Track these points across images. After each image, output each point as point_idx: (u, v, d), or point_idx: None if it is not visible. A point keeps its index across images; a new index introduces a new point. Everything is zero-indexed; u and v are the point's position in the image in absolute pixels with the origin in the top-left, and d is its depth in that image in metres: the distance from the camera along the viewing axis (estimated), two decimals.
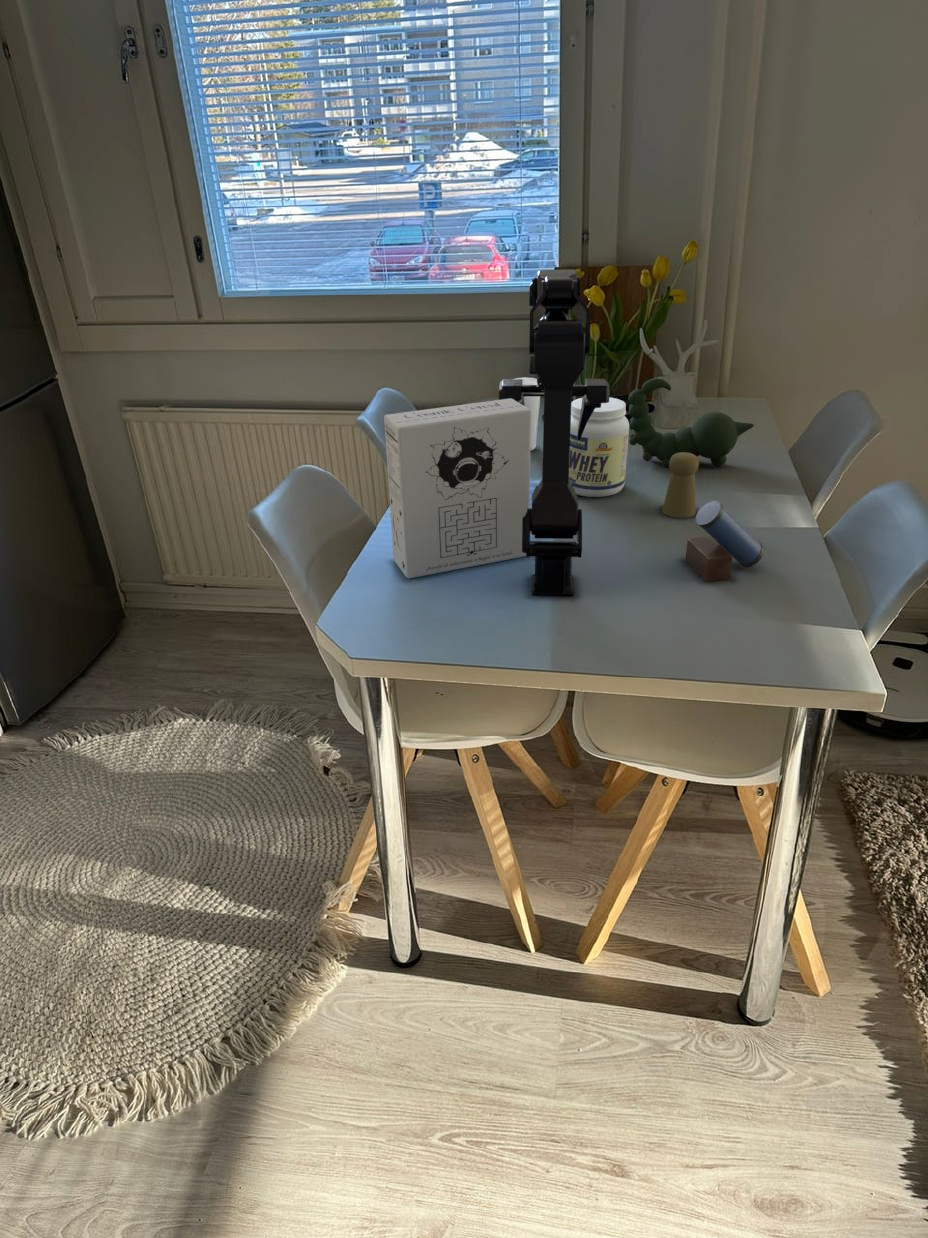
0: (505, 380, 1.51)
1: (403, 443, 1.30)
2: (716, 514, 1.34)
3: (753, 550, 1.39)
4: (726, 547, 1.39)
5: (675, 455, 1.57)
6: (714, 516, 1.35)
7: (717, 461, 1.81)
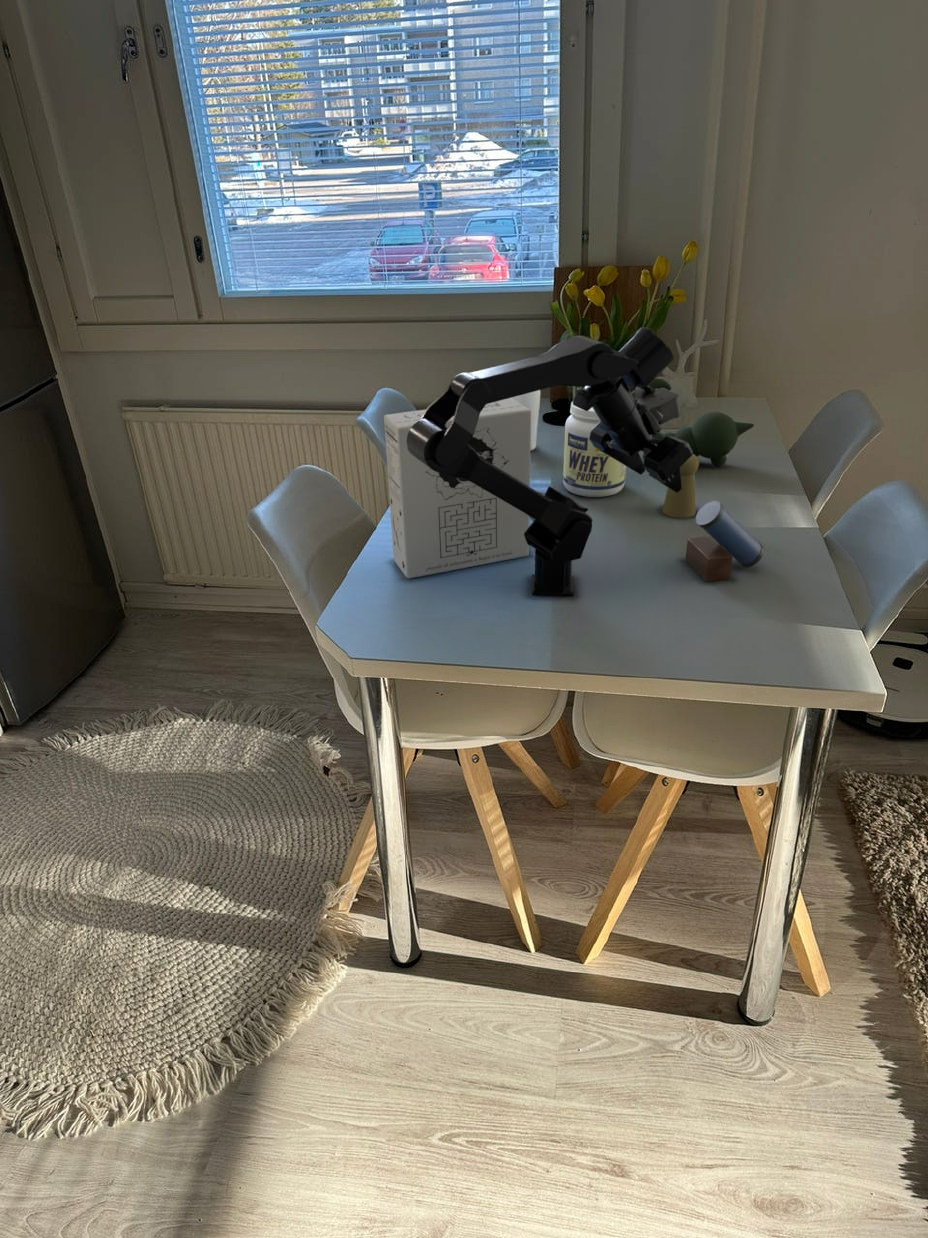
0: None
1: (403, 444, 1.30)
2: (716, 514, 1.34)
3: (753, 550, 1.39)
4: (726, 547, 1.39)
5: None
6: (714, 516, 1.35)
7: (717, 461, 1.81)
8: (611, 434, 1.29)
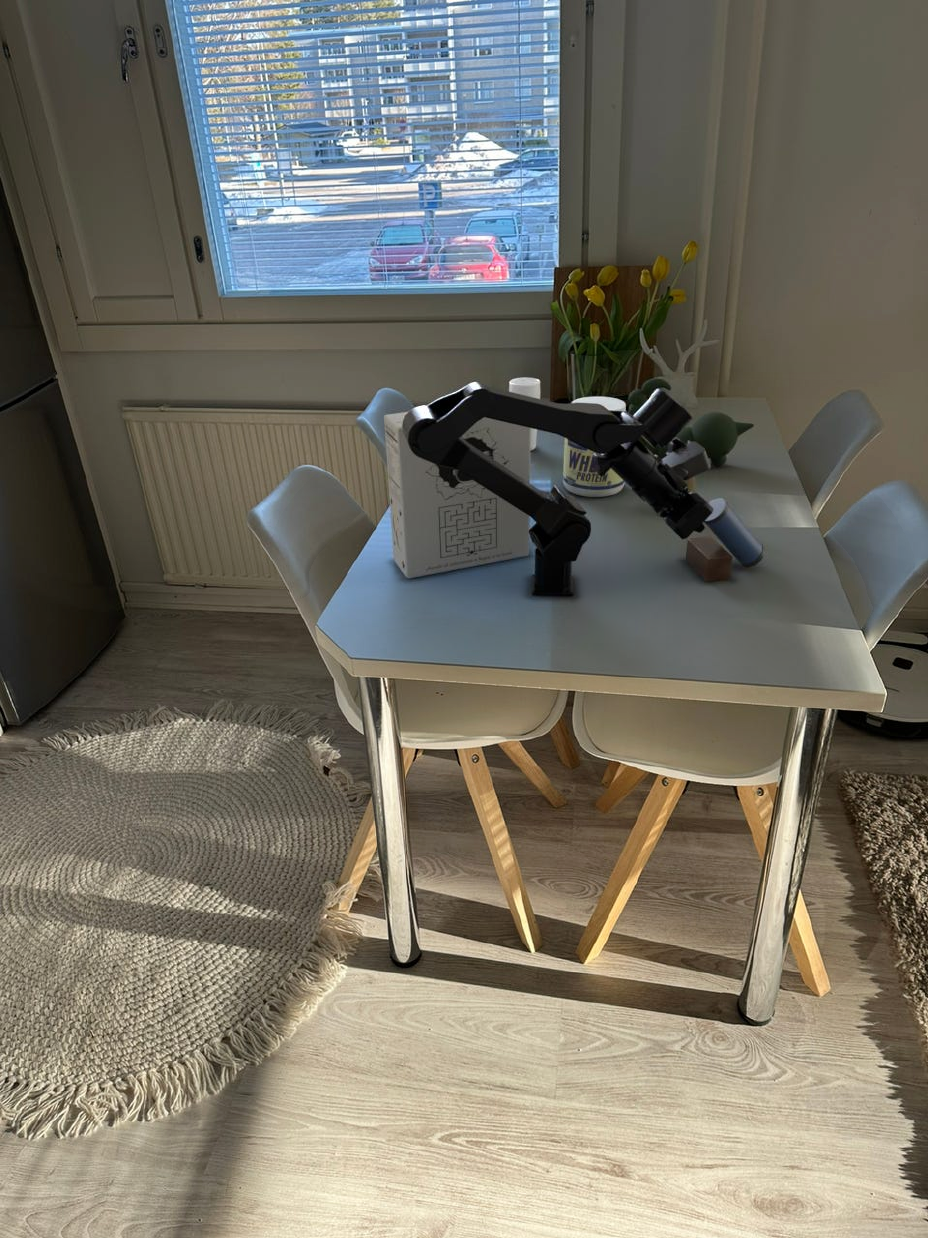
0: None
1: (403, 444, 1.30)
2: (721, 511, 1.34)
3: (755, 550, 1.39)
4: (728, 545, 1.39)
5: None
6: (719, 513, 1.34)
7: (717, 461, 1.81)
8: None
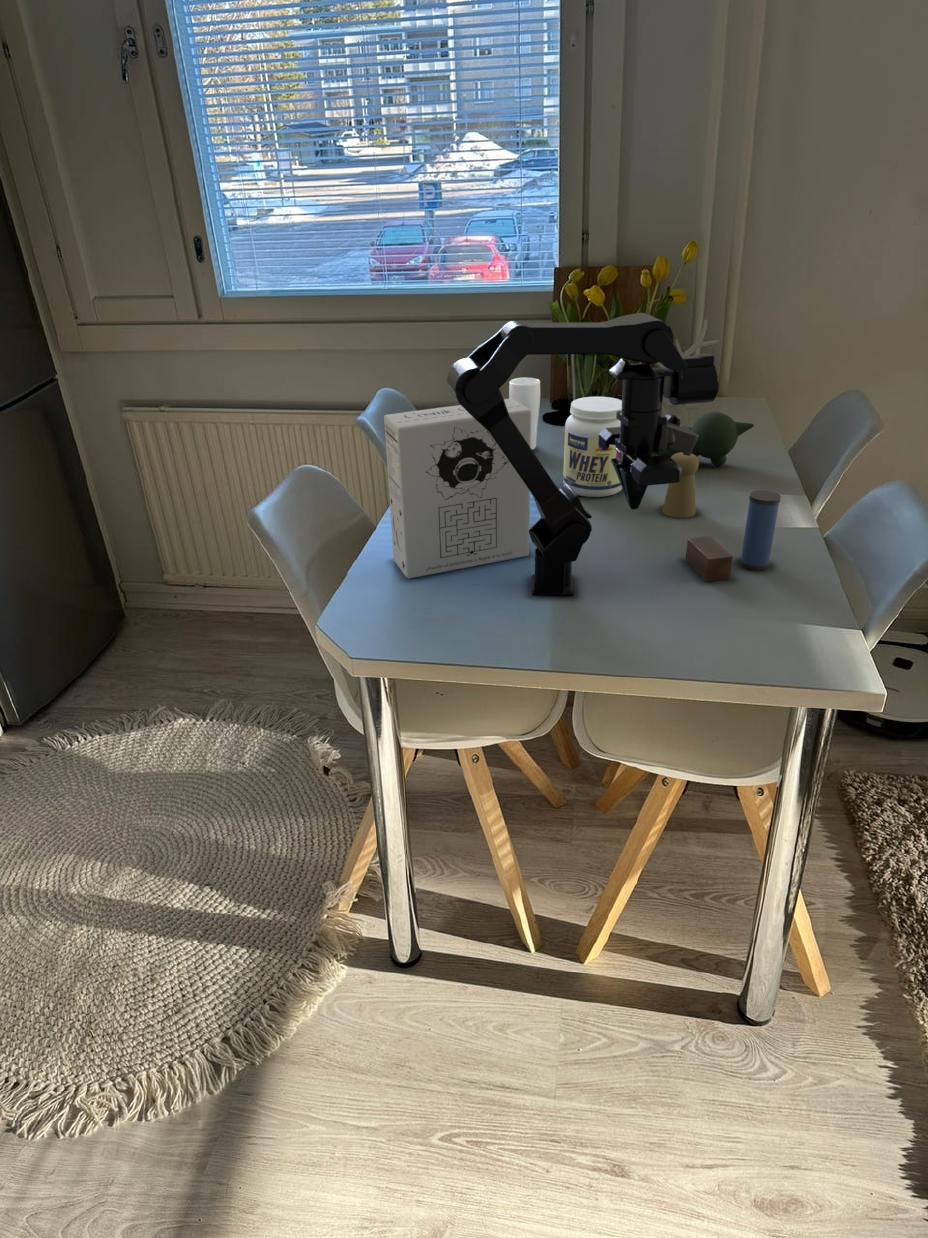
0: None
1: (403, 444, 1.30)
2: (775, 499, 1.35)
3: (766, 557, 1.40)
4: (752, 536, 1.39)
5: (675, 455, 1.57)
6: (772, 499, 1.35)
7: (717, 461, 1.81)
8: (622, 424, 1.26)
